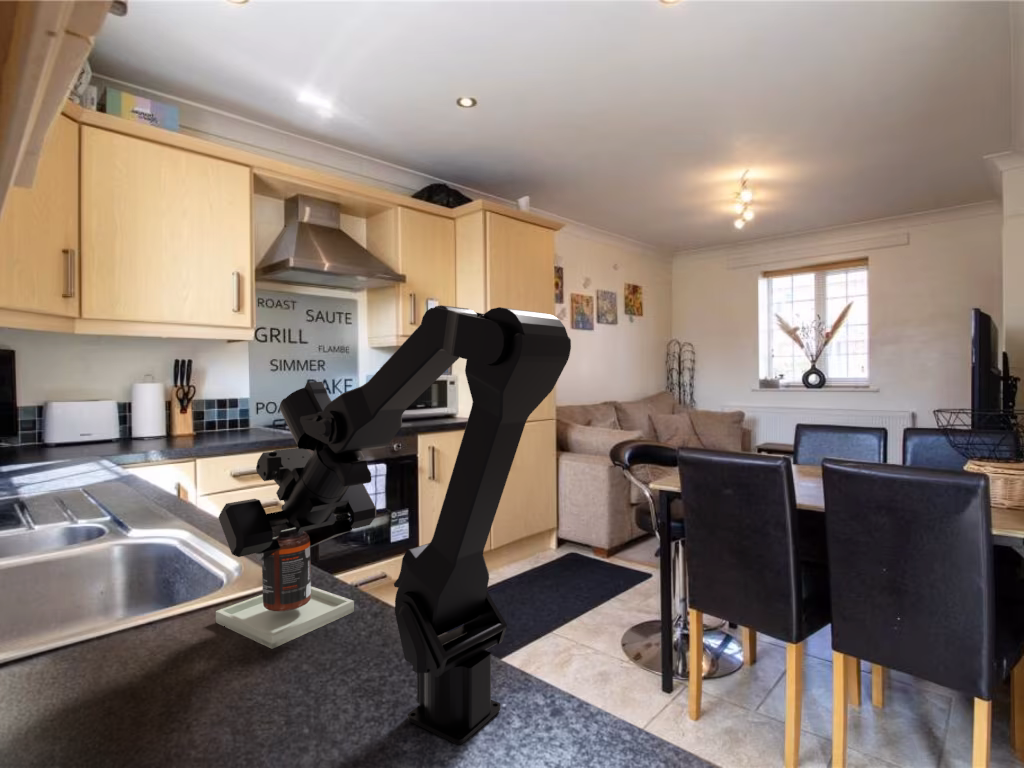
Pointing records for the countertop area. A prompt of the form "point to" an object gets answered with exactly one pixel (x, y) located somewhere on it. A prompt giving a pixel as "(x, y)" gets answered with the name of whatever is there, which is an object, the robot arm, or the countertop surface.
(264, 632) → the tray
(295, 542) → the supplement bottle
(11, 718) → the countertop surface
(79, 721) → the countertop surface
